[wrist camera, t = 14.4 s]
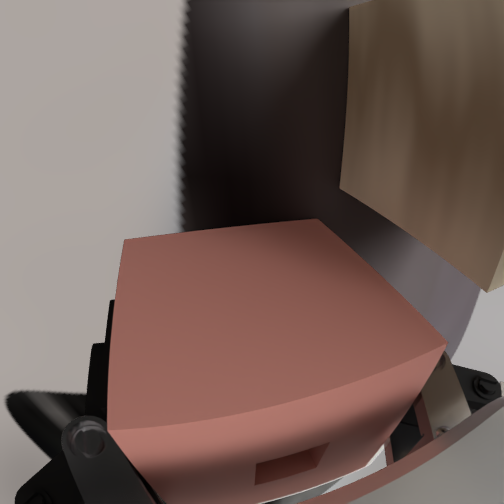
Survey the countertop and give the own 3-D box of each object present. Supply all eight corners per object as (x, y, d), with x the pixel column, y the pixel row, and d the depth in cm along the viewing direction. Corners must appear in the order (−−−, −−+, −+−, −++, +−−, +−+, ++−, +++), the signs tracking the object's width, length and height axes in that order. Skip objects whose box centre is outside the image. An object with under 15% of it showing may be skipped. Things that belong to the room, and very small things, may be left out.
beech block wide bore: (349, 7, 7) (526, -18, 2) (466, 53, 8) (593, 80, 3) (339, 188, 10) (486, 293, 5) (452, 187, 11) (563, 253, 6)
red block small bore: (124, 239, 8) (107, 430, 3) (317, 218, 10) (447, 342, 5) (157, 375, 11) (180, 516, 6) (299, 349, 13) (364, 466, 8)
